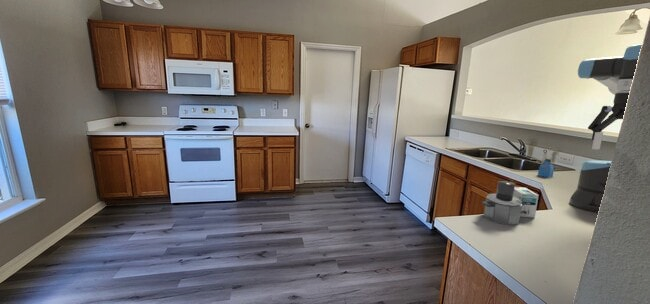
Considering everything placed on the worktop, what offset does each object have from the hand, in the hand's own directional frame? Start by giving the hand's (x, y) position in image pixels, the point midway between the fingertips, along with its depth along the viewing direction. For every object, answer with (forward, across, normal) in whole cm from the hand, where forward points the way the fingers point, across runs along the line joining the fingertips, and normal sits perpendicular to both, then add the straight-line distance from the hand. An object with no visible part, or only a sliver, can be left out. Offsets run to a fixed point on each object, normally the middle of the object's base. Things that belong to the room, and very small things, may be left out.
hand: (616, 152), depth 97 cm
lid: (+27, -19, -25) cm, 41 cm away
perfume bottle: (+33, -75, +60) cm, 102 cm away
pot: (+33, -19, -25) cm, 45 cm away
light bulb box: (+33, -23, -11) cm, 42 cm away
